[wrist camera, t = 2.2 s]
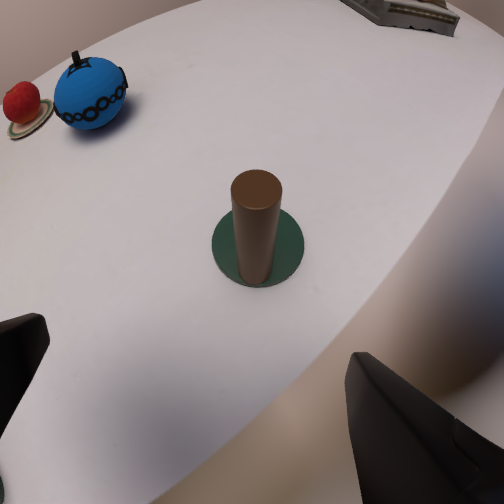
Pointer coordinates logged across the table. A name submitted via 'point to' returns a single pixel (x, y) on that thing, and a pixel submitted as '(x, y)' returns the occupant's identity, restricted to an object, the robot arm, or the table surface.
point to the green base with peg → (257, 233)
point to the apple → (25, 109)
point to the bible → (408, 14)
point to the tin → (1, 492)
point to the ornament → (89, 92)
